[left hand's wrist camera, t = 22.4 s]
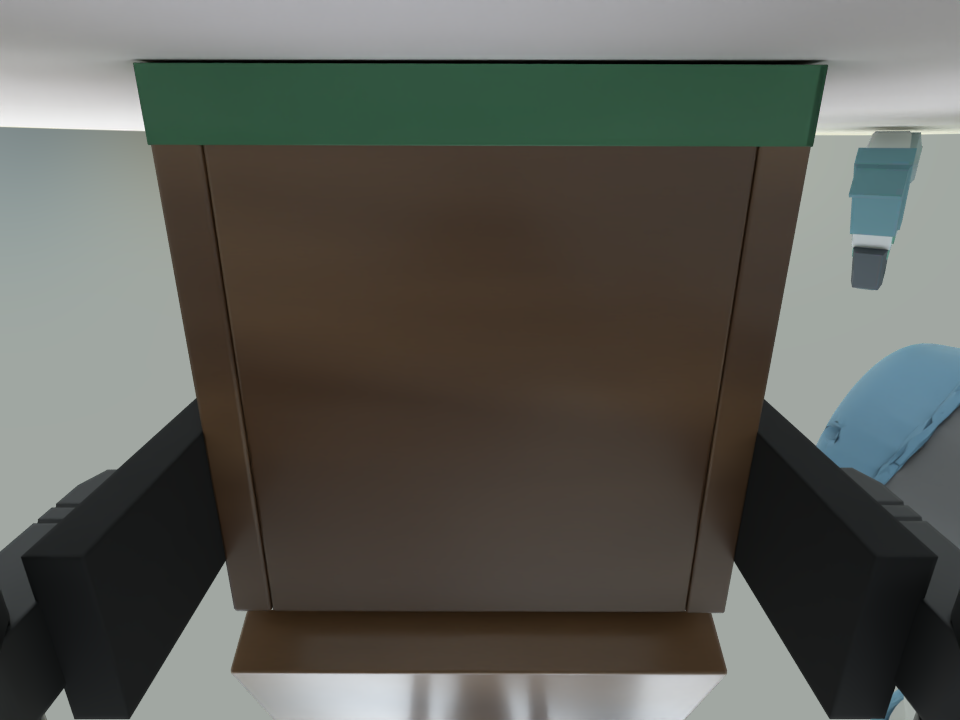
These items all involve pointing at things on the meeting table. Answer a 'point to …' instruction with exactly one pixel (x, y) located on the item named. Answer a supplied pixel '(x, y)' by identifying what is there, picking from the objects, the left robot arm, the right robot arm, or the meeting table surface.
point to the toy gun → (880, 201)
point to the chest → (480, 321)
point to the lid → (478, 665)
